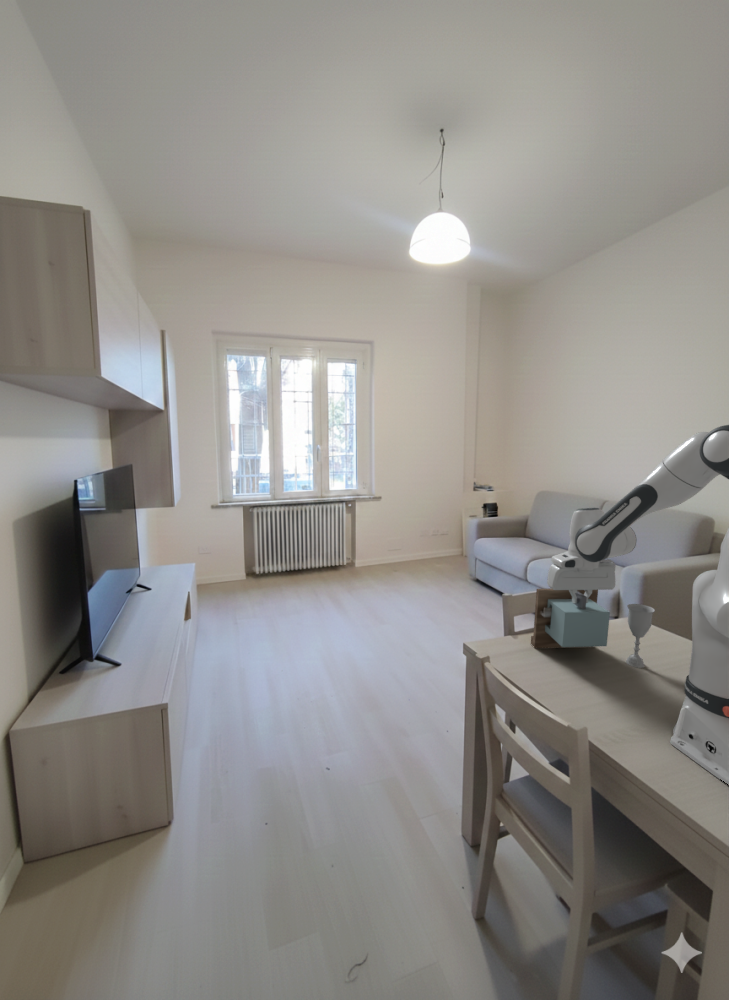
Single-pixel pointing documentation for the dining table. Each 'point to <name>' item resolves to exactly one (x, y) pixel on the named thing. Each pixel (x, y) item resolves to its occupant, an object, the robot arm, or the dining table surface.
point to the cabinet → (578, 622)
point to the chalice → (638, 629)
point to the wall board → (549, 616)
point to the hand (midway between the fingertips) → (579, 602)
